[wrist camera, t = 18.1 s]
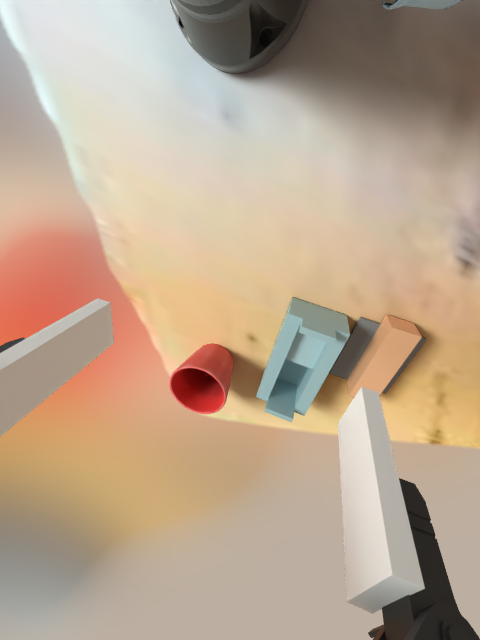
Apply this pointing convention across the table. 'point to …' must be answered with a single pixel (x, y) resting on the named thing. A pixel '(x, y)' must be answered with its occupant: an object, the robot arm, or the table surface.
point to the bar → (383, 355)
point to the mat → (357, 347)
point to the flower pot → (203, 379)
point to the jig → (302, 357)
